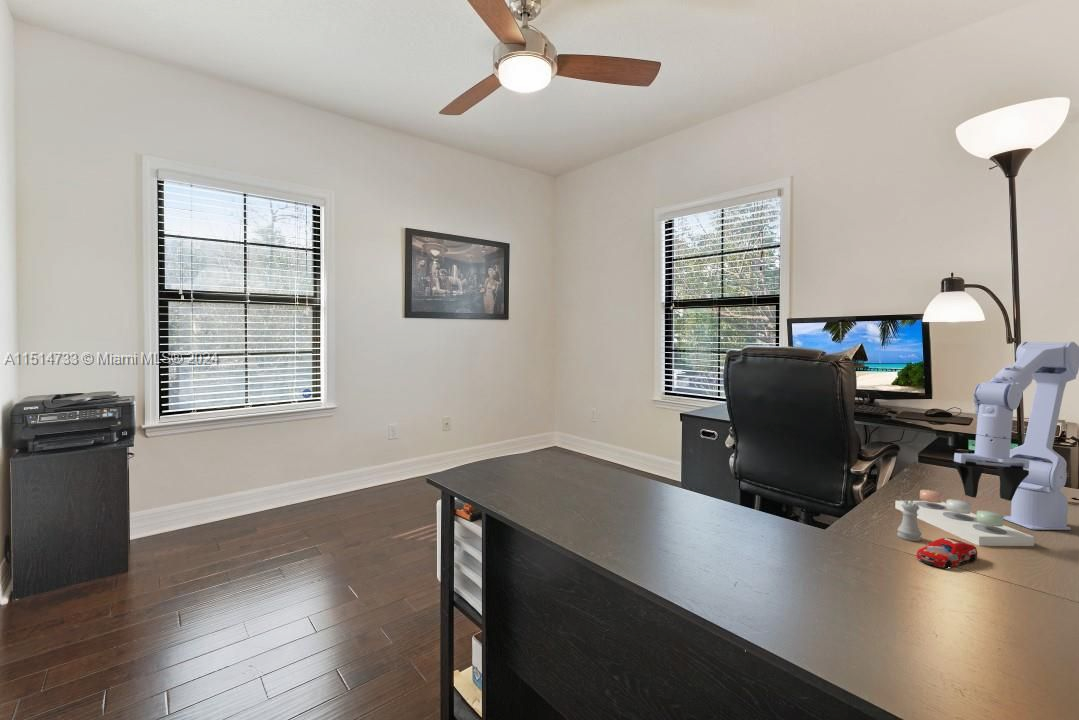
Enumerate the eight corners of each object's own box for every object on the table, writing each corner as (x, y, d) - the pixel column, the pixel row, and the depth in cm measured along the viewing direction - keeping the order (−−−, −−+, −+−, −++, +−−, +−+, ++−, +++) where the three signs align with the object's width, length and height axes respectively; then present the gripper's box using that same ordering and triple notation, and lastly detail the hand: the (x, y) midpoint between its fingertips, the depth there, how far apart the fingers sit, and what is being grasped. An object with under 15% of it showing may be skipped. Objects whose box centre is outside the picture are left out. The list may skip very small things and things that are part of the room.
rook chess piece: (926, 543, 106) (927, 506, 106) (902, 541, 107) (904, 504, 107) (915, 535, 111) (916, 499, 111) (892, 533, 112) (894, 498, 111)
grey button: (959, 507, 120) (959, 499, 120) (975, 513, 115) (976, 505, 115) (941, 507, 120) (941, 499, 119) (957, 513, 115) (957, 505, 115)
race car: (941, 573, 93) (941, 551, 93) (910, 561, 98) (911, 541, 98) (983, 562, 98) (984, 542, 98) (952, 551, 103) (953, 532, 103)
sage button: (990, 519, 112) (990, 510, 112) (1009, 526, 107) (1009, 517, 107) (971, 519, 112) (971, 510, 111) (989, 526, 107) (989, 517, 107)
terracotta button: (932, 497, 128) (932, 489, 128) (946, 502, 123) (946, 494, 123) (915, 497, 128) (915, 489, 127) (929, 502, 123) (929, 494, 123)
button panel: (940, 508, 130) (940, 500, 130) (1033, 546, 106) (1034, 535, 106) (895, 508, 129) (895, 499, 129) (978, 545, 105) (979, 535, 105)
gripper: (974, 436, 106) (969, 499, 106) (1044, 442, 105) (1039, 506, 105) (948, 431, 113) (943, 491, 113) (1014, 437, 112) (1009, 497, 112)
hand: (988, 497), depth 110 cm, fingers open, 7 cm apart
